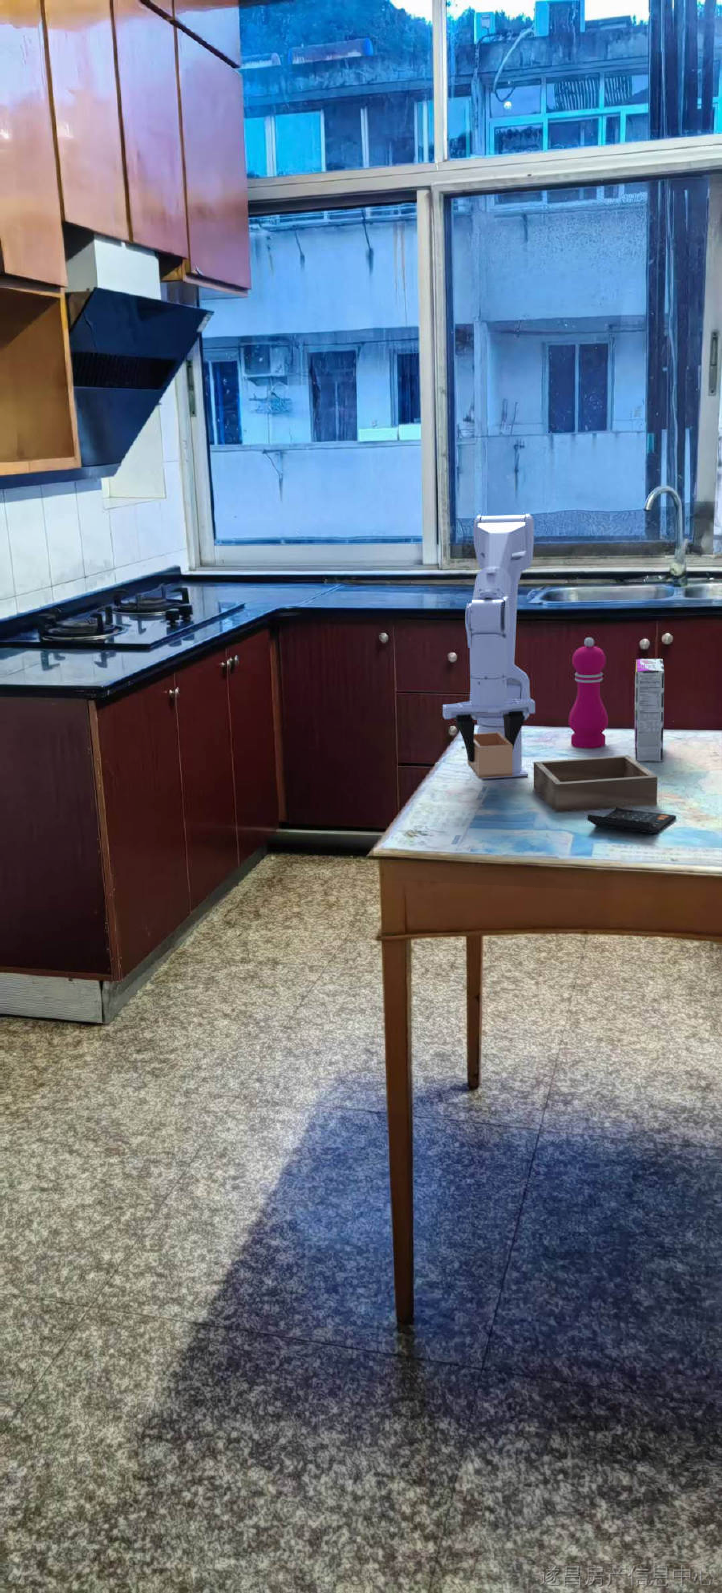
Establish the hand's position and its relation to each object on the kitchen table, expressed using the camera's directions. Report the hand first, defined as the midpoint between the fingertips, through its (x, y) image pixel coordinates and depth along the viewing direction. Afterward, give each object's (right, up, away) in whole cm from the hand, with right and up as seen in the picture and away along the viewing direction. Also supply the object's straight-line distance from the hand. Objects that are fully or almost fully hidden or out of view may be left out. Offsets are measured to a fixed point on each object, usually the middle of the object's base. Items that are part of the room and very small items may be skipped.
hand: (489, 759), depth 202 cm
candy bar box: (+31, +1, +23) cm, 39 cm away
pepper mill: (+22, +3, +32) cm, 39 cm away
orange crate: (0, -2, 0) cm, 2 cm away
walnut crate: (+17, -6, 0) cm, 18 cm away
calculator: (+20, -11, -16) cm, 27 cm away
